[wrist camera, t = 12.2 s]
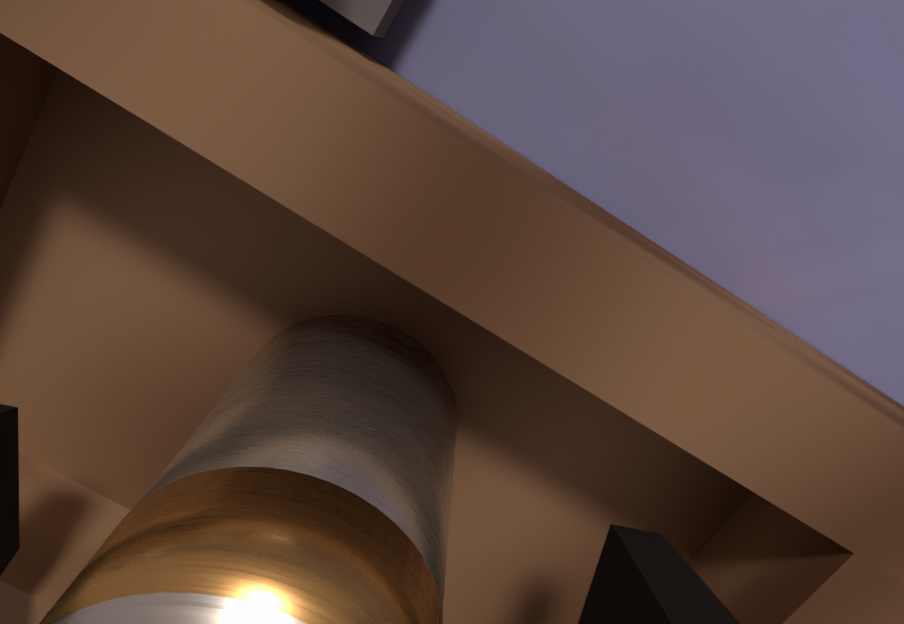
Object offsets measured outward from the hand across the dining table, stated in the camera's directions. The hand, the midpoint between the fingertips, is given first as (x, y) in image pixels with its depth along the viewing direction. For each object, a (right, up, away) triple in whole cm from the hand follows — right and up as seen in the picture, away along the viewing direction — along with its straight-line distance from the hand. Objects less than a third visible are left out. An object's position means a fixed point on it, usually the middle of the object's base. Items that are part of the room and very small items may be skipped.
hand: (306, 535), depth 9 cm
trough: (0, +1, +3) cm, 3 cm away
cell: (0, +1, +2) cm, 3 cm away
